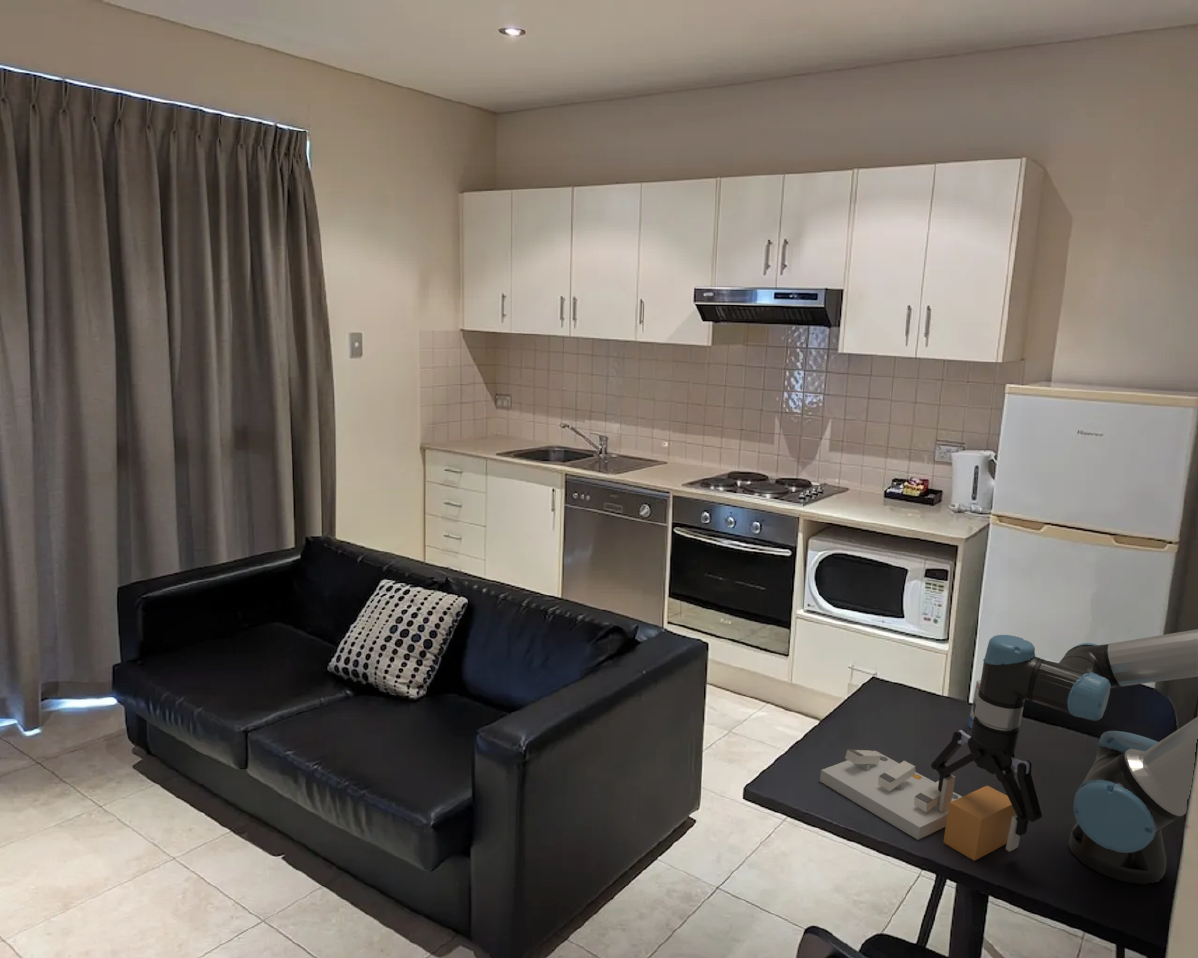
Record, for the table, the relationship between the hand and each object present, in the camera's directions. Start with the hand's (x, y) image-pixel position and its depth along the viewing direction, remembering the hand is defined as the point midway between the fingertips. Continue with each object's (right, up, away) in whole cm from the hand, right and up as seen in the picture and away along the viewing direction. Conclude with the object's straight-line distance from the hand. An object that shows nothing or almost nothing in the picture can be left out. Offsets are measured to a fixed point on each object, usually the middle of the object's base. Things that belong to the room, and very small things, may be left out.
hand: (976, 828), depth 163 cm
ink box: (+20, +4, +44) cm, 48 cm away
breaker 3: (-6, +4, +6) cm, 9 cm away
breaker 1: (-15, +7, +19) cm, 25 cm away
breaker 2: (-10, +6, +13) cm, 17 cm away
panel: (-11, +1, +13) cm, 17 cm away
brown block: (0, -2, 0) cm, 2 cm away
